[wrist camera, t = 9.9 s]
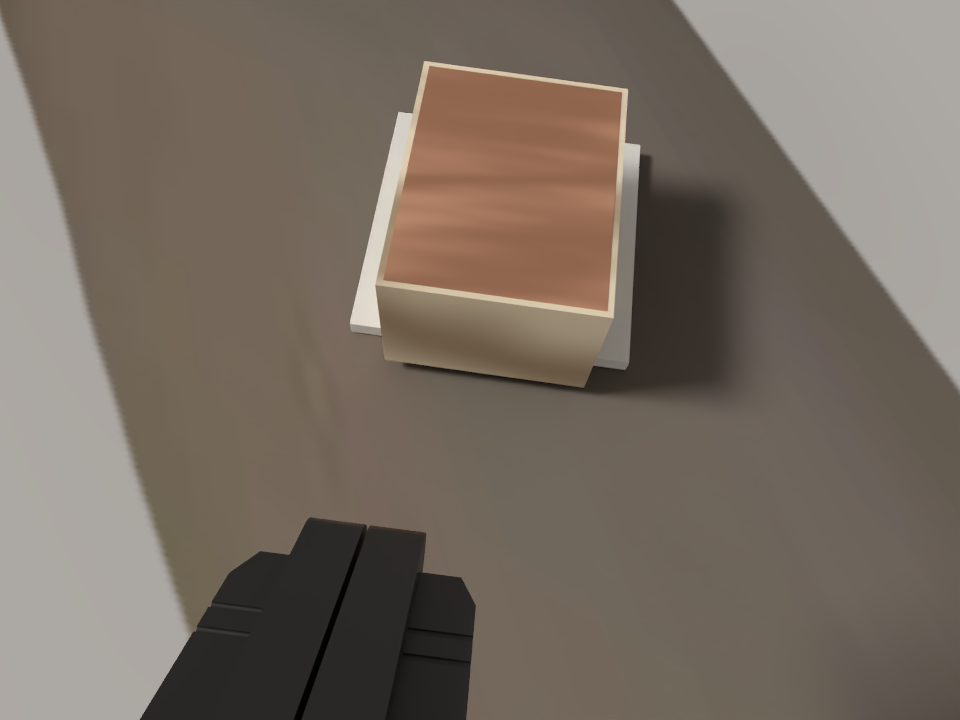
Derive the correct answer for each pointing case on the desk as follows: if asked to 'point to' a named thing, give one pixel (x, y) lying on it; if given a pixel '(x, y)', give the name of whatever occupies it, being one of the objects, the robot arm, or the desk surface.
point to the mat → (619, 332)
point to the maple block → (505, 226)
